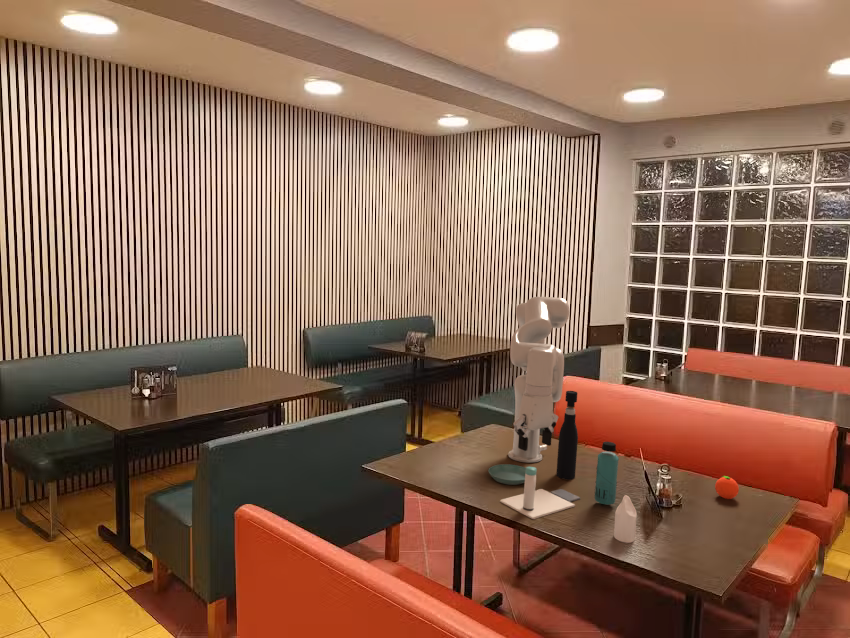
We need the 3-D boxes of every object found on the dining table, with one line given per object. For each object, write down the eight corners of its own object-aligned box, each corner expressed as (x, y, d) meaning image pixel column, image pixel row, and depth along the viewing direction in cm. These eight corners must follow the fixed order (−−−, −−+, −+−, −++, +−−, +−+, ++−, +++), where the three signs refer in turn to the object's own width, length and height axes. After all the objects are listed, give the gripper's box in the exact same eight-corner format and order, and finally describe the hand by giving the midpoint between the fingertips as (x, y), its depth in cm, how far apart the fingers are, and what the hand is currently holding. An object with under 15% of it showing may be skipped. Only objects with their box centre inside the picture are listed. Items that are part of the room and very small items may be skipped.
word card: (561, 490, 198) (561, 488, 198) (580, 498, 192) (580, 497, 192) (550, 493, 196) (550, 491, 196) (569, 502, 189) (569, 500, 189)
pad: (541, 490, 197) (541, 488, 197) (574, 506, 186) (574, 504, 186) (500, 501, 187) (500, 499, 187) (532, 519, 176) (532, 517, 176)
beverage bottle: (615, 503, 190) (620, 441, 188) (614, 511, 184) (620, 447, 182) (594, 499, 192) (599, 438, 190) (592, 507, 186) (597, 444, 184)
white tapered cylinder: (634, 502, 161) (613, 496, 165) (631, 545, 163) (610, 538, 166) (641, 495, 166) (620, 489, 169) (637, 536, 168) (617, 530, 171)
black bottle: (554, 477, 210) (560, 392, 206) (557, 471, 215) (563, 388, 212) (573, 480, 207) (579, 395, 204) (576, 474, 213) (582, 391, 210)
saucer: (505, 468, 217) (506, 460, 217) (540, 480, 207) (540, 473, 207) (479, 477, 207) (479, 470, 207) (513, 491, 197) (514, 483, 196)
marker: (529, 505, 184) (532, 466, 182) (535, 509, 181) (538, 469, 179) (520, 507, 182) (523, 467, 181) (526, 511, 179) (529, 471, 178)
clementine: (709, 491, 203) (711, 471, 202) (730, 493, 202) (732, 472, 202) (719, 501, 195) (721, 480, 194) (741, 503, 194) (743, 481, 194)
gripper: (549, 384, 185) (545, 439, 187) (507, 390, 175) (504, 447, 177) (568, 389, 178) (564, 446, 181) (526, 396, 169) (522, 455, 171)
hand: (534, 446), depth 179 cm, fingers open, 9 cm apart
